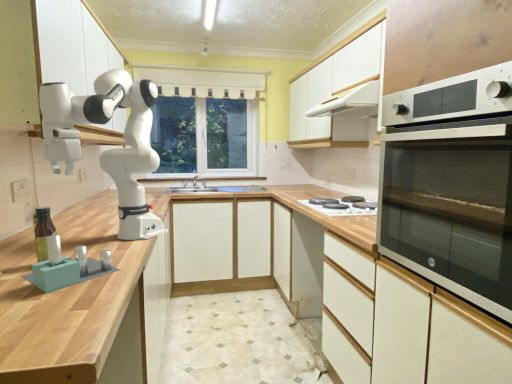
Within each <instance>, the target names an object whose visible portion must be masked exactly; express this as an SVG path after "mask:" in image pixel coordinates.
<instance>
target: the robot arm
mask: <svg viewBox="0 0 512 384" xmlns="http://www.w3.org/2000/svg"><path fill="white" fill-rule="evenodd" d="M93 90H94V92H95V94H93V95H91V94H89V95H77V94H76V93H73V92H72V91H71V90H70V88H69V85H68V84H67V83H66V82H63V81H60V82H59V81H57V82H56V81H55V82H43V83H42V84H41V85H40V87H39V95H38V96H39V98H38V99H39V107H40V108H39V109H40V111H41V114H42V120H41V127H42V136H43V141H42V142H43V143H42V149H43V151H42V152H43V157H44V158H43V159H44V160H45V161H49V162H50V165H51V168H52V171H53V174H55V175H60V174H61V173H62V172H61V168H60V165H59V164H60V162H65V163H64V164H65V166H66V167H65V170H64V172H65V176H67V177H68V176H73V175H74V167H75V162H80V161H81V158H82V152H81V150H82V149H81V148H82V147H81V140H80V138H81V135H82V134H81V131H80V130H78V129H77V128H75V126H74V125H93V124H94V125H106V124H107V123H109V122H110V121H111V119H112V117H113V115H114V113H115V111H116V110H117V109H128V108H130V113H129V115H128V117H127V120H126V124H125V127H124V130H123V135H122V136H123V140H124V142H125V143H126V144H127V145H128V146H130V147H129V148H112V149H107V150H103V151H102V152H101V154H100V155H99V157H98V158H99V159H98V162H99V166H100V168H101V170H102V171H103V172H105V173H106V174H108V176H109V177H110V178H111V179H112V181H113V182H114V184H115V186H116V190H117V196H118V206H117V208H118V209H117V210H118V212H117V213H118V218H119V224H118V232H117V237H116V238H117V239H119V240H124V241H132V240H148V239H151V238H154V237H157V236H160V235H162V234H166V233H169V228H167V227H164V223H163V220H162V218H161V217H159V216H157V215H155V214H154V213H153V212H152V211H150V210H153V209H154V208H155V206H154V204H151V203H149V204H147V202H146V201H147V200H146V189H145V187H144V185H143V184H142V183H140V182H138V181H137V180H135V178H134V177H133V175H134V174H135V175H136V174H139V175H142V174H143V175H145V174H151V173H155V172H156V171H157V170H158V169H159V167H160V164H161V159H160V158H161V157H160V156H159V154H158V152H157V151H156V150H154V149H153V148H152V147H151V145H150V138H151V137H150V136H151V132H152V129H153V128H152V127H153V119H154V117H153V111H152V110H151V109H152V108H153V107H155V105H156V102H157V100H158V97H159V89H158V87H157V84H155V82H154V81H153V80H152V79H144V78H143V79H141V80H139V79H138V80H133V78H132V76H131V75H130V73H129V72H128V71H127V70H125V69H123V68H113V69H110V70H108V71H104V72H103V73H102V74H100V75H99V76H97V78H95V80H94V82H93Z"/></svg>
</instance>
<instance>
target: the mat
mask: <svg viewBox="0 0 512 384" xmlns="http://www.w3.org/2000/svg"><path fill="white" fill-rule="evenodd" d="M87 263H88V276H86V277H82V278H81V282H79V283H76V284H73V285H70V286H66V287H63V288H60V289H57V290H54V291H51V292H48V293H47V294H49V293H53V292H56V291H59V290H63V289H66V288H69V287H71V286H75V285H77V284H78V285H79V284H81V283H84V282H85V283H86V282H88V281H90V280H94V279H96V278H100V277H103V276H106V275H109V274H113V273H115V272H118V271H121V269H120V268H117V267H114V266H113V265H112V269H111V270H109V271H101V263H100V260H98V259H96V258H93V257H87ZM21 278H23V279H24V280H26V281H27V282H29V283H31V284H32V285H33V286H35V285H34V283H33V274H32V272H31V273H26V274H24V275H21ZM35 287H36V288H38V287H37V286H35Z"/></svg>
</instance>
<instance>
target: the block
mask: <svg viewBox="0 0 512 384" xmlns="http://www.w3.org/2000/svg"><path fill="white" fill-rule="evenodd" d="M62 263H63V264H61V265H57V266H53V267H50V266H49V260H47V261H43V262H39V263H38V262H36V263H32V264H31V271H32V272H31V273H32V274H33V283H34V285H33V286H35V287H36V286H37V287H36V288H37V289H39V290H40V291H42V292H44V293H45V294H49V293H48V292H50V293H52V292H51V291H54V290H57V289H60V288H63V287H66V286H69V287H71V286H70V285H72V286H74V285H73V284H75V285H77V284H76V283H78V284H80V283H79V282H81V278H80V266H79V262H78V261H76V260H75V259H73V258H71V257H69V256H67V255H64V256H63V255H62ZM66 288H67V287H66ZM63 289H64V288H63ZM60 290H61V289H60ZM57 291H58V290H57ZM54 292H55V291H54Z"/></svg>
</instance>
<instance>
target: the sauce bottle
mask: <svg viewBox="0 0 512 384" xmlns="http://www.w3.org/2000/svg"><path fill="white" fill-rule="evenodd" d="M35 214H36V220H37V222H36V224H35V226H34V229H33V230H34V231H33V232H34V240H35V242H34V243H35V249H36V258H37V263H39V262H43V261H47V260H49V256H48V245H47V236H49V235H54V234H58V231H57V228H56V226H55V224H54V223H53V220H52V218H51V207H50V206H40V207H36V208H35Z"/></svg>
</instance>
